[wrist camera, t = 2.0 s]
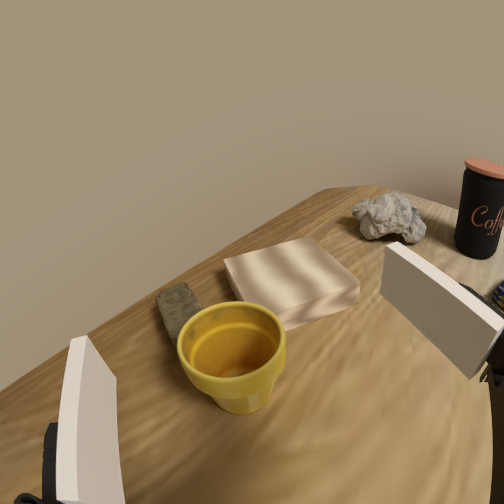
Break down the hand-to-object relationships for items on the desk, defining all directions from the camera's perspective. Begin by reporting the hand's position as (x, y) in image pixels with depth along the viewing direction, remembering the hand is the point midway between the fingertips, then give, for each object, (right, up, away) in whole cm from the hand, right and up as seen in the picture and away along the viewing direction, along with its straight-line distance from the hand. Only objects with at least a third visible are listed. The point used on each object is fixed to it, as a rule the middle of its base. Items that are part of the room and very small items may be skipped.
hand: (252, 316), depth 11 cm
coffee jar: (+47, +3, +37) cm, 60 cm away
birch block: (+6, -4, +35) cm, 35 cm away
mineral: (+28, +6, +46) cm, 55 cm away
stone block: (-9, -9, +30) cm, 33 cm away
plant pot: (-1, -14, +20) cm, 24 cm away
